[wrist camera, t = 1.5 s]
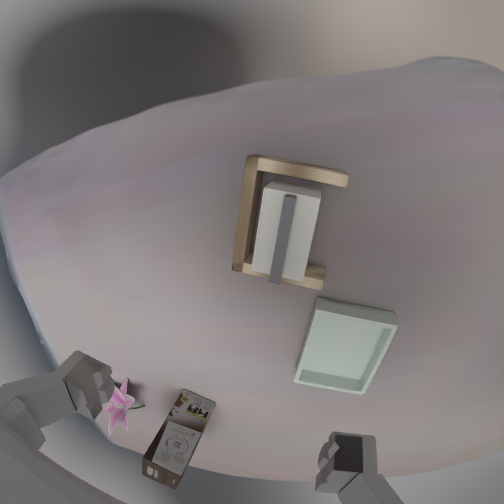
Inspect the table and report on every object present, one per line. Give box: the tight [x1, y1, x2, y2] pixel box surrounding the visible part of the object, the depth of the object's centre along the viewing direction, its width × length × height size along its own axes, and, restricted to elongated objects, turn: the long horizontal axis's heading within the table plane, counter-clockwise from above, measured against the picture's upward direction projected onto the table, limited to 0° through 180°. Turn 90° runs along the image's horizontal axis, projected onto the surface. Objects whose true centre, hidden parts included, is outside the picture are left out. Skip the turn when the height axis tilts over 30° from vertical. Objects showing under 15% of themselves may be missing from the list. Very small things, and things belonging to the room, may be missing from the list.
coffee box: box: [142, 389, 215, 489], centre depth 42 cm, size 9×6×16 cm
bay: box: [232, 154, 349, 290], centre depth 32 cm, size 10×12×4 cm
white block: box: [251, 178, 321, 284], centre depth 30 cm, size 5×8×9 cm, turn 172°
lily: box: [106, 378, 145, 436], centre depth 50 cm, size 12×12×10 cm
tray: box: [293, 296, 398, 395], centre depth 36 cm, size 10×12×3 cm
